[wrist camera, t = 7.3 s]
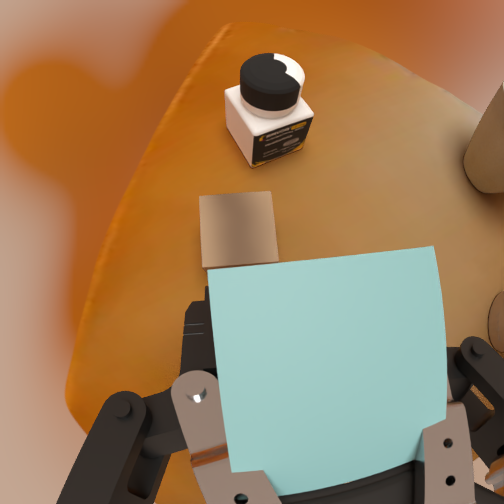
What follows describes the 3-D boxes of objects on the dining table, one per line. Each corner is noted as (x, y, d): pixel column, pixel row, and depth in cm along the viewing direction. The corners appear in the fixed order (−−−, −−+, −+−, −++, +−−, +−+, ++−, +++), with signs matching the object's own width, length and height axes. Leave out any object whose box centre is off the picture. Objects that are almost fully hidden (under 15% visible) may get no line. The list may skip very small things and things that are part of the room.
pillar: (318, 291, 15) (433, 246, 5) (327, 376, 14) (443, 446, 4) (231, 301, 15) (207, 269, 5) (240, 387, 14) (236, 499, 4)
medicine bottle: (251, 169, 34) (257, 102, 22) (225, 126, 35) (221, 56, 23) (303, 148, 34) (326, 82, 23) (275, 108, 36) (286, 40, 24)
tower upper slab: (266, 208, 28) (270, 191, 25) (273, 269, 27) (278, 261, 23) (204, 212, 28) (199, 196, 24) (207, 274, 27) (202, 267, 23)
